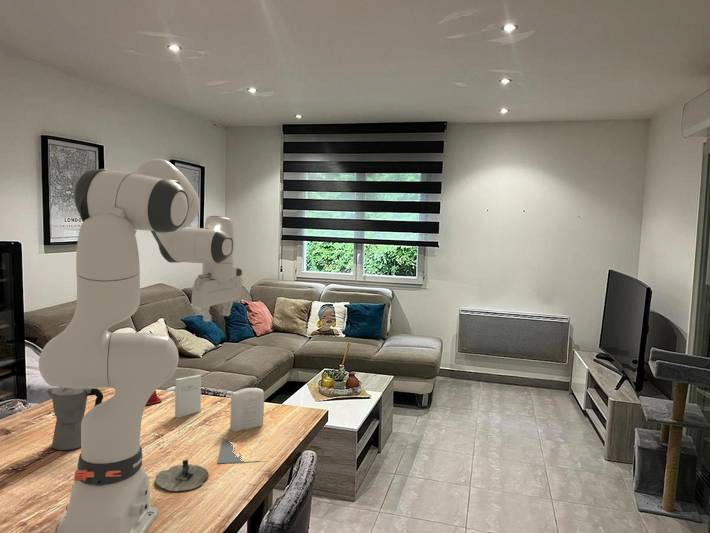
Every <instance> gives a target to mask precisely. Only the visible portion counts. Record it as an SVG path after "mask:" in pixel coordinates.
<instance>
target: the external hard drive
mask: <svg viewBox="0 0 710 533" xmlns="http://www.w3.org/2000/svg"><path fill="white" fill-rule="evenodd" d="M174 384H175V389H174V390H175V392H174V395H175V396H174V400H175V401H174V403H175V404H174V417H175V418H180V417H181V418H182V417H185V416H188V415H193V414H196V413H201V409H202V407H201V406H202V375H201V374H197V375H196V374H195V375H191V376H185V377H179V378H175V382H174Z"/></svg>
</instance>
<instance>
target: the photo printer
mask: <svg viewBox="0 0 710 533" xmlns="http://www.w3.org/2000/svg"><path fill="white" fill-rule="evenodd" d="M264 410H265V393H264V390H263V389H262V388H258V387H246V388H242V389H238V390H236V391H234V392H232V393H231V395H230V421H229V422H230V423H229V425H230V426H229V429H230V431H233V432H239V431H244V429H245V430H248V428H250V429H253V428H258V426H259V427H263V426H264V415H265V414H264V412H265V411H264Z"/></svg>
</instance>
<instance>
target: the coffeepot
mask: <svg viewBox="0 0 710 533" xmlns="http://www.w3.org/2000/svg"><path fill="white" fill-rule="evenodd" d="M45 393H47V394H48V395H49V396H50V398H51V401H52V408H53V412H54V417H56V421H55V426H54V431H53V437H52V442H51V448H53V449H54V450H58V451H69V450H75V449H79V448H81V423H82V420H83V417H84V416H85V414H86V409H87V408H86V407H87V402H88V401H87V400H88V397H91V396H95V397H96V398H95V400H94V406H93V407H95V406H96V405H98V404H100V403H102V402H103V400H104V394H103V392H102V391H101V390H100V388H86V389H70V388H62V387H52V388H49V389H47V390H45Z"/></svg>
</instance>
